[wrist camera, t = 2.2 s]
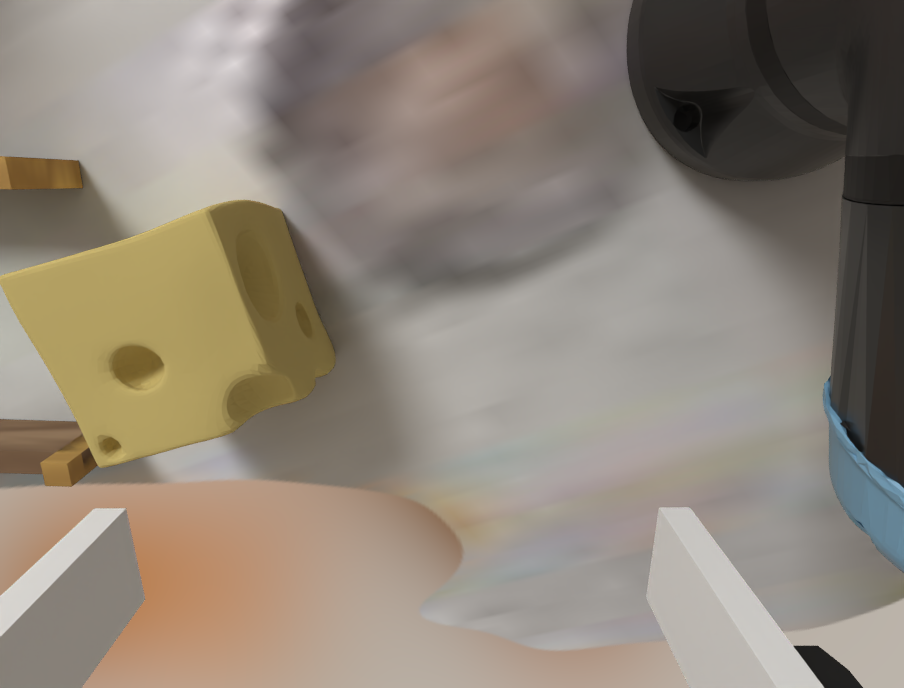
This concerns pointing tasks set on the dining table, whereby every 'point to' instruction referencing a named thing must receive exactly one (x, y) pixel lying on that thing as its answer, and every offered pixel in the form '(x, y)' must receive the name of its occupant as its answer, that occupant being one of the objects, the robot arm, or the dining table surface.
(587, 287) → the dining table surface
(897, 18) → the robot arm
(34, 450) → the bay
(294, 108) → the dining table surface
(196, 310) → the cheese
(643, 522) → the dining table surface
